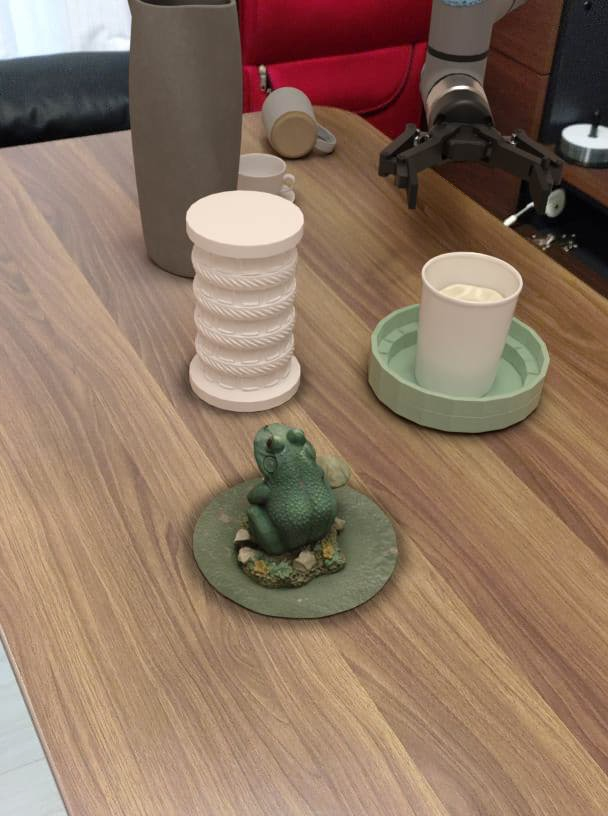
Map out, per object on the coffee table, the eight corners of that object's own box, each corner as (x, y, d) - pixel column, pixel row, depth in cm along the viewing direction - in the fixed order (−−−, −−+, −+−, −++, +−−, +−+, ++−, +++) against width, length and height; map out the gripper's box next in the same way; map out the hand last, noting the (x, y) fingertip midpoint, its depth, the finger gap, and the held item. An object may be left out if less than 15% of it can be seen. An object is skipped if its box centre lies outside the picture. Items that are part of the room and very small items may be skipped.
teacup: (212, 209, 129) (211, 175, 126) (232, 178, 136) (232, 144, 133) (285, 220, 128) (286, 185, 125) (302, 188, 135) (303, 154, 132)
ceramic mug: (269, 162, 140) (271, 107, 135) (260, 139, 146) (261, 85, 141) (340, 160, 142) (345, 107, 137) (329, 137, 148) (333, 85, 142)
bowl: (526, 340, 110) (535, 305, 107) (552, 441, 97) (562, 405, 94) (365, 332, 109) (369, 296, 106) (369, 432, 96) (374, 395, 93)
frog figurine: (334, 454, 94) (342, 352, 86) (437, 577, 83) (458, 473, 75) (161, 508, 87) (152, 403, 79) (248, 649, 76) (248, 544, 68)
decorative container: (193, 415, 97) (186, 249, 85) (185, 350, 105) (177, 190, 93) (308, 408, 99) (317, 244, 86) (291, 345, 107) (298, 186, 94)
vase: (244, 287, 115) (243, 10, 94) (139, 287, 114) (115, 7, 93) (241, 237, 124) (241, -26, 103) (144, 237, 123) (124, -30, 102)
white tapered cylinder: (394, 391, 101) (408, 287, 92) (423, 344, 107) (438, 243, 99) (486, 416, 98) (509, 312, 90) (510, 366, 105) (533, 265, 96)
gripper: (556, 156, 119) (589, 238, 104) (352, 147, 119) (356, 228, 104) (570, 93, 114) (607, 170, 99) (357, 83, 114) (361, 158, 99)
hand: (478, 200), depth 101 cm, fingers open, 13 cm apart
